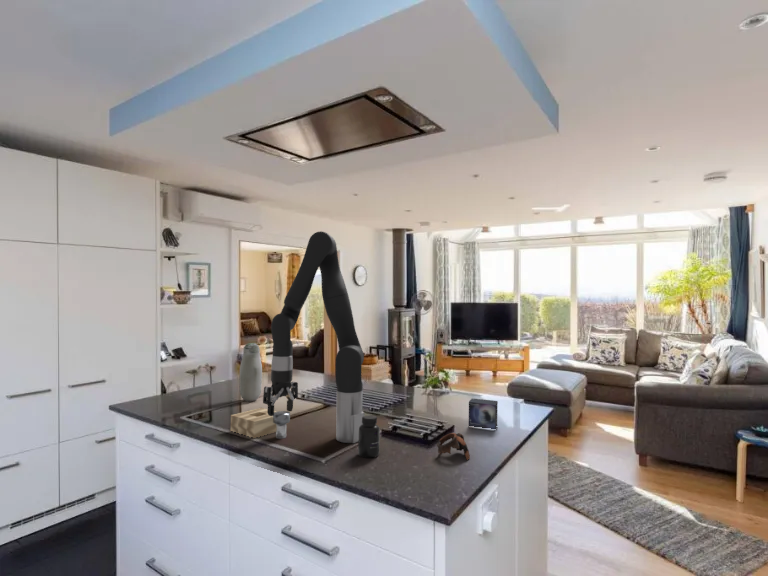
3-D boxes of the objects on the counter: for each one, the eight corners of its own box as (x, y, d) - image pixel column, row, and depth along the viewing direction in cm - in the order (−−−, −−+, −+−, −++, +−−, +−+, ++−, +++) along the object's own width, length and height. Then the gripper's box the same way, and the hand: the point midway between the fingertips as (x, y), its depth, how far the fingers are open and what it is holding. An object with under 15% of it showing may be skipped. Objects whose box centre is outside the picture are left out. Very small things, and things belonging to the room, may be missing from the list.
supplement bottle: (376, 459, 135) (377, 420, 135) (355, 457, 136) (356, 419, 136) (381, 451, 141) (381, 414, 142) (361, 450, 143) (361, 413, 143)
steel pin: (293, 436, 156) (293, 412, 156) (280, 440, 151) (280, 416, 152) (281, 433, 160) (282, 410, 160) (269, 437, 155) (269, 413, 155)
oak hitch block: (284, 429, 165) (284, 413, 165) (254, 438, 153) (254, 421, 153) (260, 422, 173) (261, 407, 173) (230, 431, 161) (230, 415, 162)
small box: (467, 428, 168) (467, 401, 168) (471, 424, 174) (471, 397, 174) (495, 431, 164) (495, 404, 164) (497, 427, 170) (497, 400, 170)
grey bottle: (235, 401, 208) (236, 343, 209) (252, 397, 217) (253, 341, 217) (248, 404, 203) (249, 344, 203) (265, 400, 211) (266, 342, 212)
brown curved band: (468, 466, 131) (455, 442, 131) (443, 473, 136) (429, 451, 136) (476, 444, 142) (464, 422, 142) (452, 452, 146) (440, 431, 146)
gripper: (273, 371, 148) (271, 419, 148) (303, 367, 160) (302, 411, 159) (259, 369, 153) (257, 415, 152) (289, 364, 164) (288, 407, 164)
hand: (280, 413), depth 156 cm, fingers open, 8 cm apart
